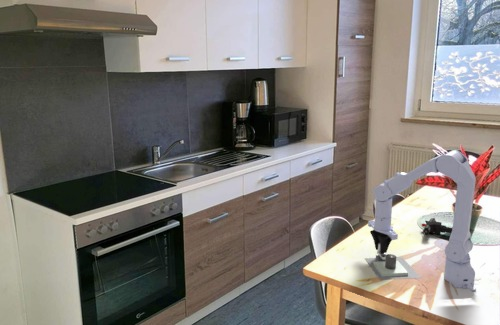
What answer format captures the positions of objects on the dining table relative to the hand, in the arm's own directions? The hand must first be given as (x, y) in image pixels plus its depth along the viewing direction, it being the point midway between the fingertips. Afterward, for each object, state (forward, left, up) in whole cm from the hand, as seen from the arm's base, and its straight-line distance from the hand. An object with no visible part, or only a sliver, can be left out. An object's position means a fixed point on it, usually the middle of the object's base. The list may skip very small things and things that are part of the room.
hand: (381, 250), depth 161 cm
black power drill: (+23, -34, -5) cm, 42 cm away
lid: (-9, 0, -3) cm, 10 cm away
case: (-8, -1, -4) cm, 9 cm away
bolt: (-1, 0, -2) cm, 2 cm away
